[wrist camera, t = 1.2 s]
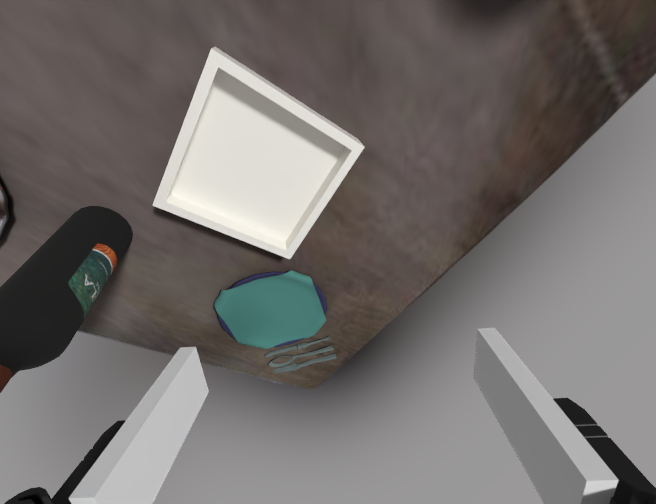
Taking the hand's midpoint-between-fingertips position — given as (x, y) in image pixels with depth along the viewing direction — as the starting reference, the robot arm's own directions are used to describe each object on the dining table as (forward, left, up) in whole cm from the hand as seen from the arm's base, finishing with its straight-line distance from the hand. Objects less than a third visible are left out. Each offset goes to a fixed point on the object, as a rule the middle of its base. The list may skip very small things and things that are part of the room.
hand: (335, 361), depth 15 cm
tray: (-2, -5, -34) cm, 34 cm away
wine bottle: (-17, -24, -34) cm, 45 cm away
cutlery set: (+16, -32, -35) cm, 50 cm away
